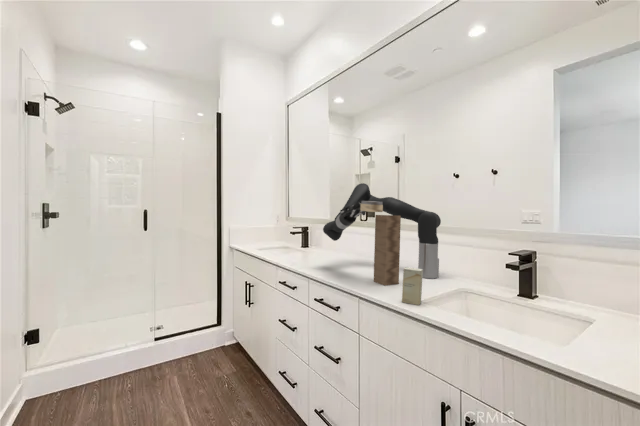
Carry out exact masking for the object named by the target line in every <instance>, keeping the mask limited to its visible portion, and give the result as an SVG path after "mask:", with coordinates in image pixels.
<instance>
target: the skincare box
mask: <svg viewBox="0 0 640 426" xmlns="http://www.w3.org/2000/svg"><path fill="white" fill-rule="evenodd" d="M402 273H403V274H402V290H401V291H402V293H401V295H402V296H401V303H405V304H411V305H416V306H420V305H421V303H422V293H423V292H422V289H423V278H422V275H423V269H418V267H416V268H415V267H408V266H406V267H404V268H403V272H402Z"/></svg>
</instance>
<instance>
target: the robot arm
mask: <svg viewBox="0 0 640 426" xmlns="http://www.w3.org/2000/svg"><path fill="white" fill-rule="evenodd" d="M361 201H376V202H382V205H383V212H384V213H386V214H387V215H396V216H401V219H405V220H409V221H412V222H415V223H417V237H418V267H417V269H423V275H422V279H437V278H439V275H440V273H439V272H440V258H439V237H438V235H437V233H438V232H437V231H438V230H437V228H439V227H440V225H441V222H442V221H441V217H440V216H439V215H438V213H436V212H434V211H429V210H425V209H421V208H418V207H416V206H414V205H412V204H409V203H407V202H405V201H403V200H400V199H398V198H395V197H392V196H386V197H377V196H375V195H373V194H371V191H370V186H369V185H368V184H367V183H363V182H362V183H361V182H360V183H358V184H356V186H355V187H354V189H353V190H352V192H351V194H350V196H349V197H348V200H347V201H346V202H345V204H344V206H343V207H342V209H340V210H339V212H338V214H337V215H336V216H335V217H334V220H333V221H329V222H327V223H326V224H324V226H323V228H322V231H323V233H324V234H325V235H326V236H328V237H329V238H330V239H331V240H332V241H338V240H340V239H341V237H342V234H343V233H344V232H343V231H344V230H346V229H347V228H349V227H350V226H351V225H353V223H354V222H356V220H357V218H358V217H360V215H362V216H366V213H367V211H361V210H357V209H358V208H359V207H360V204H361ZM354 204H355V205H354Z"/></svg>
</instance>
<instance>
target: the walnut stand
mask: <svg viewBox="0 0 640 426" xmlns="http://www.w3.org/2000/svg"><path fill="white" fill-rule="evenodd" d="M401 220H402V218H401V216H396V215H391V214H375V223H374V224H375V225H374V226H375V227H374V251H373V252H374V253H373V254H374V255H373V258H374V259H373V261H374V262H373V282H374V283H376V284H380V285H382V286H385V287H386V286H393V285H399V284H400V253H401V252H400V251H401V225H402V224H401Z"/></svg>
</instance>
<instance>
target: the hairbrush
mask: <svg viewBox="0 0 640 426" xmlns="http://www.w3.org/2000/svg"><path fill="white" fill-rule="evenodd" d="M354 205H355V204H354ZM357 210H361V211H366V213H367V212H368V213H383V212H384V211H383V205H382V202H376V201H361V204H360V207H359V208H358V209H357Z"/></svg>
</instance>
